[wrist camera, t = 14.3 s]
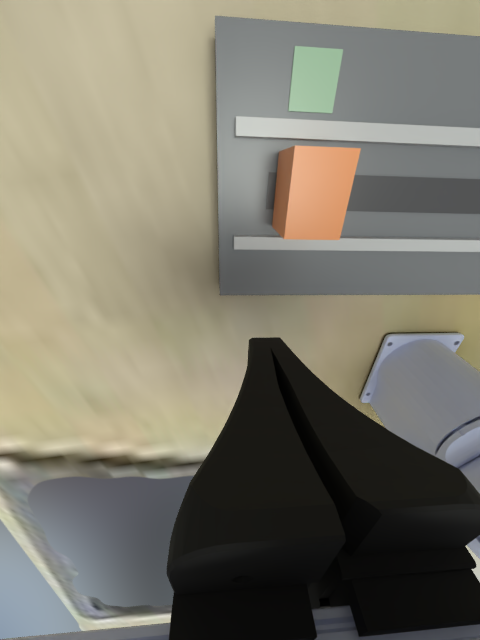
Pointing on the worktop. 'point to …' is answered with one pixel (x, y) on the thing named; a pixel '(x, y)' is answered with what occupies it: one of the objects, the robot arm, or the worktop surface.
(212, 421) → the worktop surface
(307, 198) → the knob
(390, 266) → the panel
